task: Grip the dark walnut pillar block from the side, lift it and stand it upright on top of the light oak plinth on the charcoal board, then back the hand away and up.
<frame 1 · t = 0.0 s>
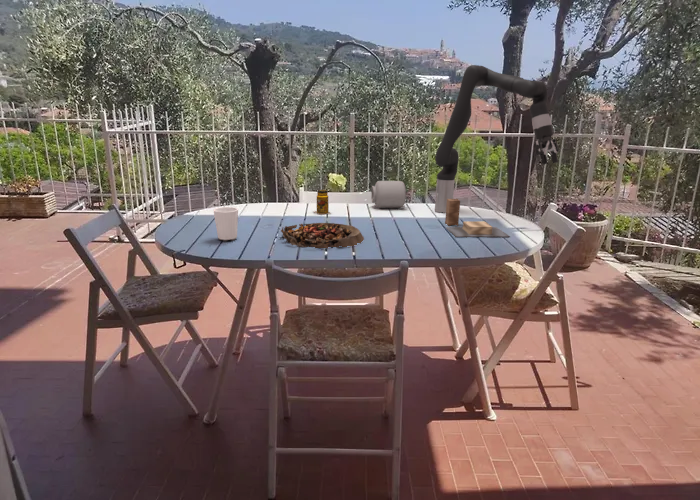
hand: (550, 163, 211), 31 cm above the table, tool tilted 20°, fingers open, 8 cm apart
condiment: (322, 213, 254), on the table
cup: (227, 239, 203), on the table
food dish: (322, 239, 207), on the table
jar: (382, 208, 267), on the table
plinth: (476, 232, 220), on the table
pillar: (451, 224, 234), on the table
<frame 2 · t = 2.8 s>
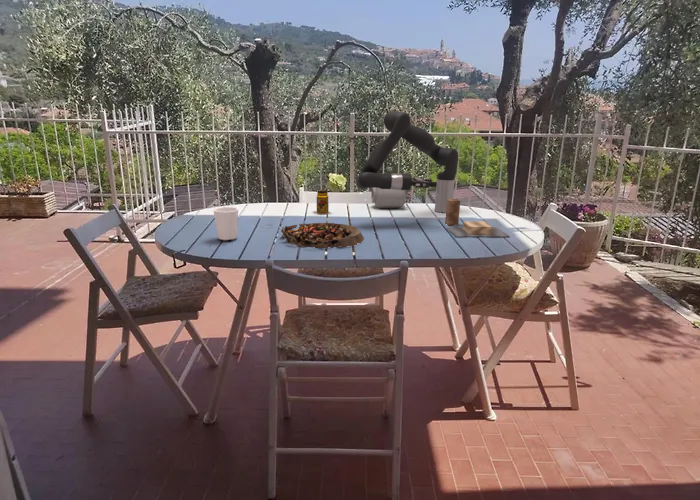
hand: (433, 183, 227), 20 cm above the table, tool horizontal, fingers open, 8 cm apart
nothing on the table moved.
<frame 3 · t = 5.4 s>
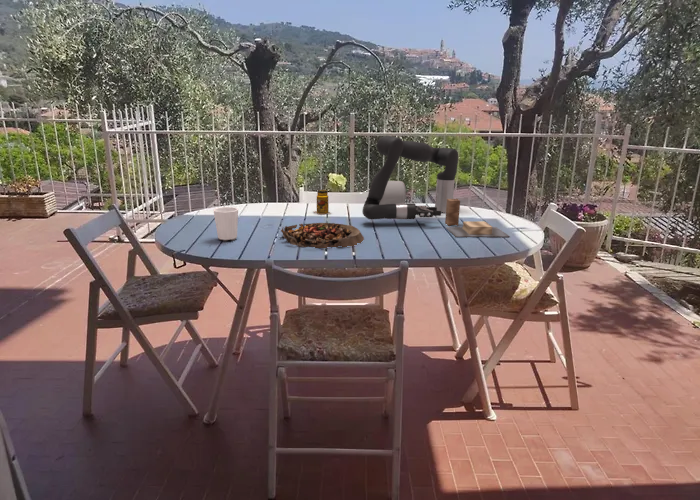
hand: (438, 211, 232), 6 cm above the table, tool horizontal, fingers open, 8 cm apart
nothing on the table moved.
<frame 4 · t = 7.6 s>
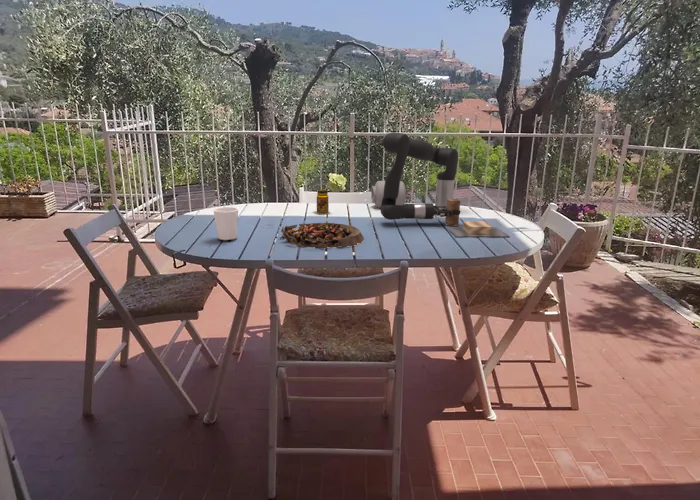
hand: (458, 211, 233), 7 cm above the table, tool horizontal, fingers closed on pillar, 5 cm apart
pillar: (451, 224, 234), on the table, touching gripper
everything else where it was.
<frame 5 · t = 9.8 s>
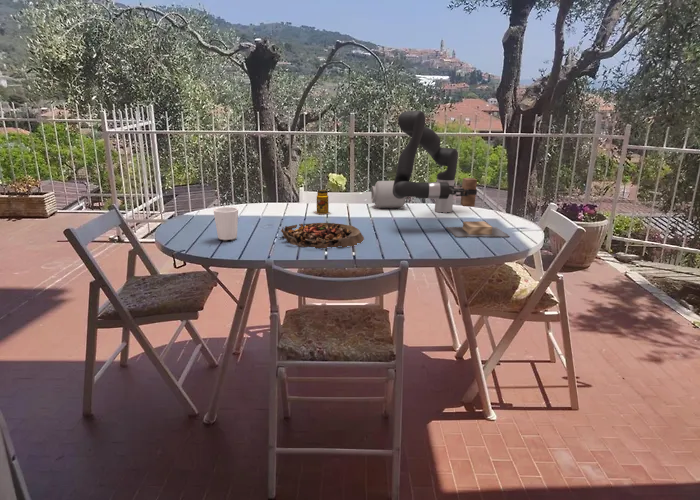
hand: (474, 191, 220), 18 cm above the table, tool horizontal, fingers closed on pillar, 5 cm apart
pillar: (467, 205, 222), point 11 cm above the table, touching gripper
everything else where it was.
when the fingers open (12 cm above the table, at t = 12.1 s): pillar drops 1 cm, resting on plinth.
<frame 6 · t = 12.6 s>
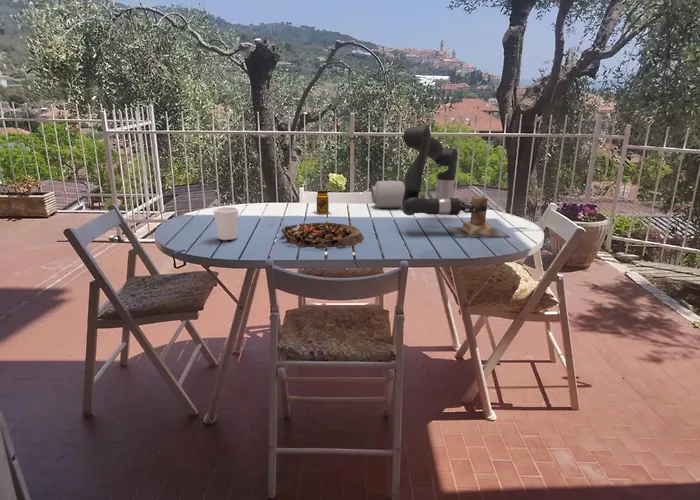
hand: (483, 206, 217), 12 cm above the table, tool horizontal, fingers open, 8 cm apart
pillar: (477, 224, 219), point 4 cm above the table, touching plinth
everything else where it was.
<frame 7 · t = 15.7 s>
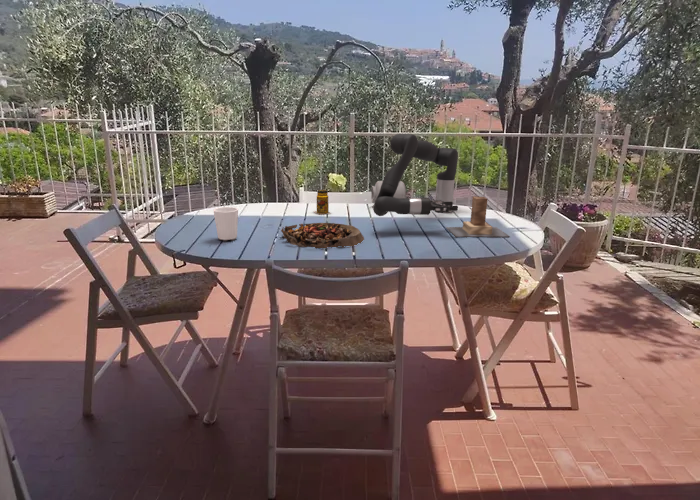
hand: (454, 206, 216), 12 cm above the table, tool horizontal, fingers open, 8 cm apart
nothing on the table moved.
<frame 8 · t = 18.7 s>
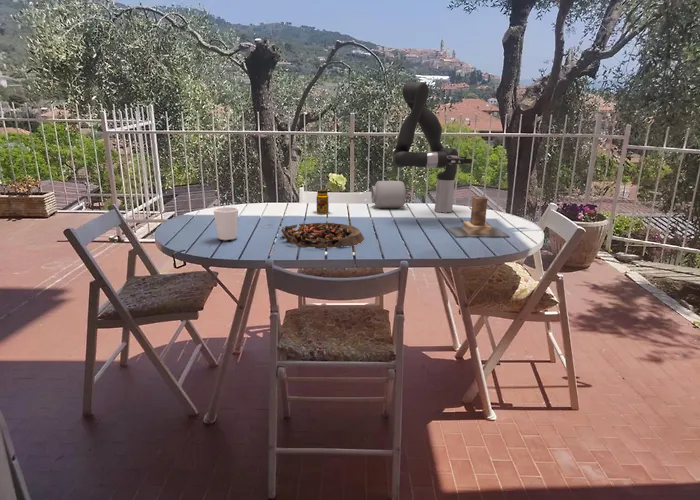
hand: (468, 160, 232), 30 cm above the table, tool horizontal, fingers open, 8 cm apart
nothing on the table moved.
at the end: pillar 0.0 cm off-centre on the plinth, point 4.0 cm above the plinth's base; pillar tilted 0°; the gripper is holding nothing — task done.
